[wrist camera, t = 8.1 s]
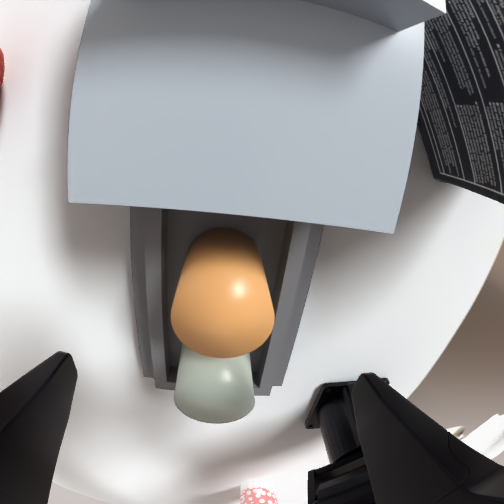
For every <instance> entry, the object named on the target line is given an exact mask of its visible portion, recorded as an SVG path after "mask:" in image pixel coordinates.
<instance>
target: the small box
mask: <svg viewBox="0 0 504 504" xmlns="http://www.w3.org/2000/svg"><path fill="white" fill-rule="evenodd" d="M445 3H446V14H444V15H441V16H438V17H435V18H433V19H430V20H427V21H425V22H424V59H423V74H422V86H421V96H420V105H419V113H418V120H417V122H418V125H419V128H420V131H421V134H422V137H423V140H424V143H425V147H426V150H427V153H428V156H429V160H430V164H431V167H432V171H433V175H434V178H435V179H436V180H438V181H440V182H445V183H446V182H447V183H450V184H453V185H456V186H459V187H462V188H465V189H468V190H470V191H472V192H475V193H478V194H480V195H483V196H485V197H488V198H490V199H493V200H496V201H498V202H500V203H503V204H504V0H445Z"/></svg>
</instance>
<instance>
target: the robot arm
mask: <svg viewBox="0 0 504 504" xmlns="http://www.w3.org/2000/svg"><path fill="white" fill-rule="evenodd" d="M76 381H77V370H76V367H75V364H74V361H73V358H72V356H71V354H69V353H66V352H62V351H58V352H56V353H55V354H54V355H52V356H51V357H49V358H48V359H46V360H45V361H44V362H42V363H41V364H39V365H38V366H36V367H35V368H34V369H32V370H31V371H29V372H28V373H26V374H25V375H24V376H22V377H21V378H19V379H18V380H17V381H15V382H14V383H12V384H11V385H10V386H8V387H7V388H6V389H4V390H3V391H1V392H0V504H47V503H48V498H49V493H50V488H51V483H52V479H53V474H54V470H55V466H56V462H57V458H58V454H59V450H60V447H61V443H62V439H63V436H64V433H65V429H66V426H67V422H68V419H69V414H70V410H71V405H72V400H73V395H74V390H75V386H76ZM305 427H306V428H307V429H314V428H320V429H321V433H322V436H323V440H324V443H325V447H326V451H327V454H328V458H329V462H330V464H329V465H327V466H324V467H322V468H319V469H316V470H315V469H314V470H311V471H308V504H504V466H502V465H499V464H497V463H495V462H494V461H492V460H490V459H489V458H487V457H485V456H484V455H482V454H480V453H479V452H477V451H475V450H474V449H472V448H471V447H469V446H468V445H466V444H465V443H463V442H462V441H460V440H459V439H458V438H456V437H455V436H454V435H452V434H451V433H450V432H447V430H446V429H444V428H443V427H442V426H440V425H439V424H438V423H437V422H435V421H434V420H433V419H431V418H430V417H429V416H428V415H426V414H425V413H424V412H422V411H421V410H420V409H419V408H417V407H416V406H415V405H414V404H412V403H411V402H410V401H408V400H407V399H406V398H405V397H403V396H402V395H401V394H400V393H398V392H397V391H396V390H395V389H393V388H392V387H391V386H389V380H388V379H387V378H379V377H378V376H377V375H376V374H374V373H362V374H361V375H360V376H359V378H358V380H357V381H351V382H337V383H327V384H324V385H323V386H322V388H321V390H320V392H319V394H318V397H317V399H316V401H315V403H314V405H313V407H312V410H311V412H310V414H309V416H308V418H307V420H306V422H305Z"/></svg>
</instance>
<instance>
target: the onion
mask: <svg viewBox="0 0 504 504" xmlns="http://www.w3.org/2000/svg"><path fill="white" fill-rule="evenodd" d="M3 77H4V56H3V53H2V51H1V49H0V89H1V86H2V83H3Z"/></svg>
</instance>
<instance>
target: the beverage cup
mask: <svg viewBox="0 0 504 504" xmlns="http://www.w3.org/2000/svg"><path fill="white" fill-rule="evenodd" d="M240 504H278V503H277V499H276V494H275V490H274V485H273V483H271V482H267V481H254V482H249V483H245V484H243V485H241V496H240Z"/></svg>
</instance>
